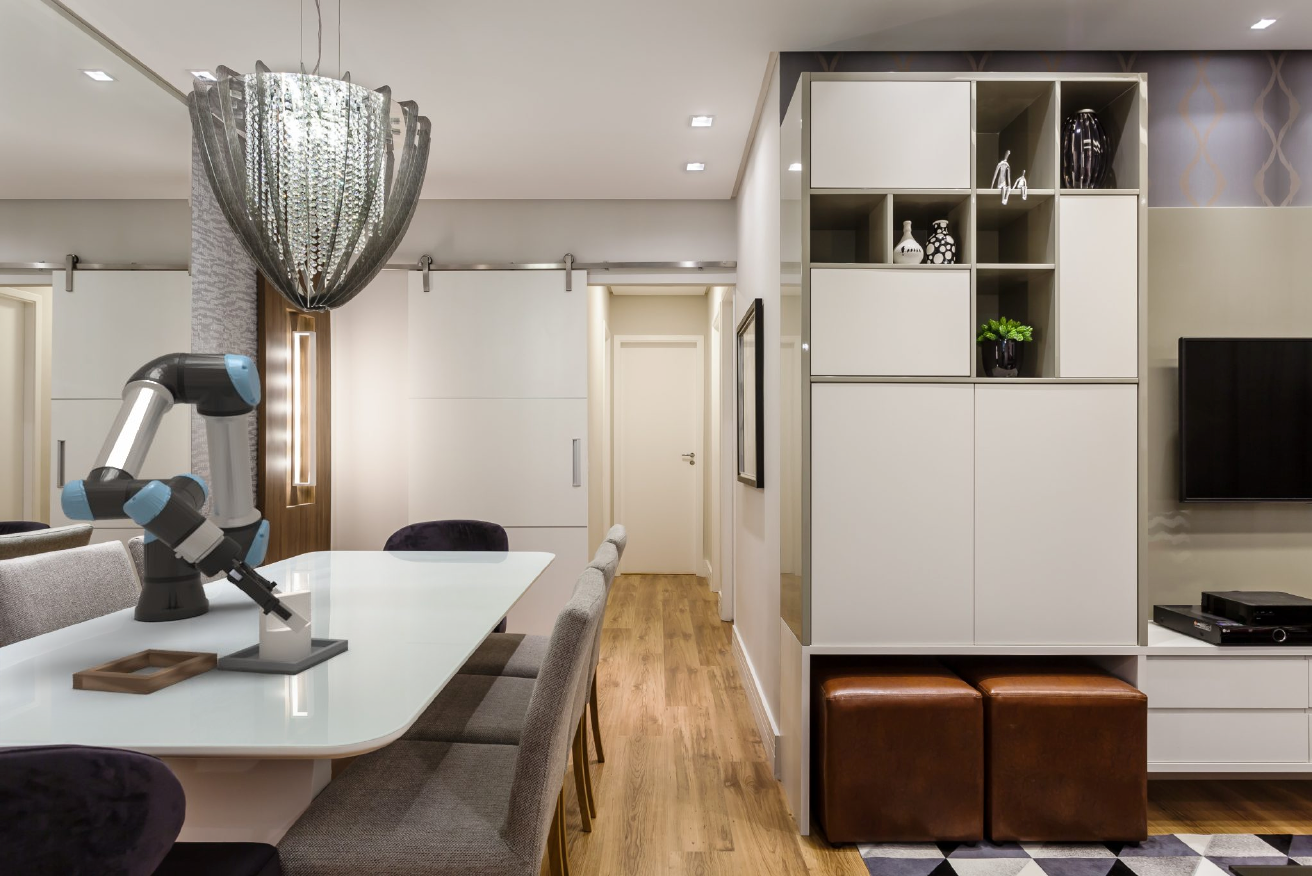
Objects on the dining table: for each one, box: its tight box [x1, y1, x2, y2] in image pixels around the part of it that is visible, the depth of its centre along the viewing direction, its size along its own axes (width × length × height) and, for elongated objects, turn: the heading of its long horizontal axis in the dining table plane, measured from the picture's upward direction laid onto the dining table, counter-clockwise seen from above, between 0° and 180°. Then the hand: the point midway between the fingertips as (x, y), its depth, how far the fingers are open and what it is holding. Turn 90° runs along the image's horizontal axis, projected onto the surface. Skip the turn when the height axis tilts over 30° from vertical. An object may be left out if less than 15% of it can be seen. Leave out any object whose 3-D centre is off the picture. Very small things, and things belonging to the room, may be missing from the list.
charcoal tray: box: [217, 637, 349, 676], centre depth 141 cm, size 16×16×2 cm
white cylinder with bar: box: [258, 589, 312, 661], centre depth 141 cm, size 9×9×12 cm
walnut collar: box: [72, 648, 218, 695], centre depth 130 cm, size 15×15×2 cm
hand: (299, 620), depth 142 cm, fingers open, 13 cm apart
